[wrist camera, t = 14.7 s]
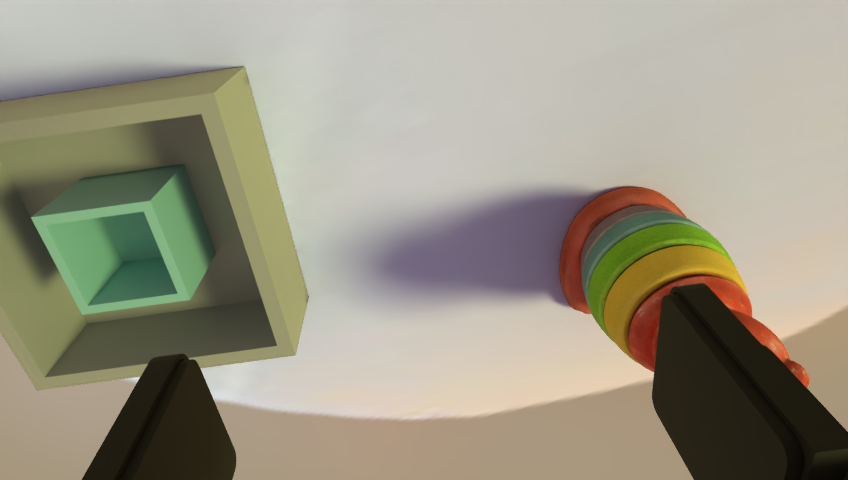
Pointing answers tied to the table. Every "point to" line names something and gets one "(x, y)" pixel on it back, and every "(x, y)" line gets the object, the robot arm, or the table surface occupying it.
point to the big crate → (220, 205)
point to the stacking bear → (648, 270)
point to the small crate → (128, 239)
